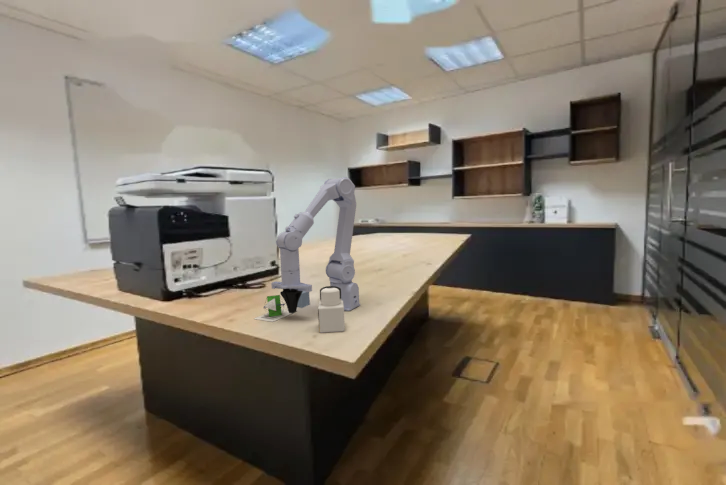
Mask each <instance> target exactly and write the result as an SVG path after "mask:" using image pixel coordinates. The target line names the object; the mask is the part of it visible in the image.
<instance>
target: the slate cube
mask: <svg viewBox="0 0 726 485" xmlns="http://www.w3.org/2000/svg"><path fill="white" fill-rule="evenodd" d="M309 305H311V302H310V292H306V291H303V292H302V294H301V296H300V298H299V301H298V305H297V308H301V309H303V308H305V307H308V306H309Z"/></svg>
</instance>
